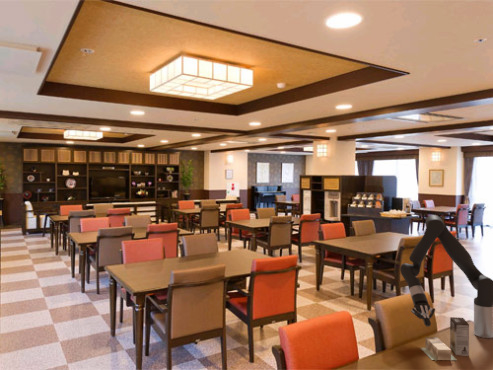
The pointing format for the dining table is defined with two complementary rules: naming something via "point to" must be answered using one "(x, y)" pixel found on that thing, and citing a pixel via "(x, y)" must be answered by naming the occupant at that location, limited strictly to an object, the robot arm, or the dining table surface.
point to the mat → (434, 356)
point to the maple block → (438, 348)
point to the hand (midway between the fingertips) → (428, 325)
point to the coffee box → (459, 336)
